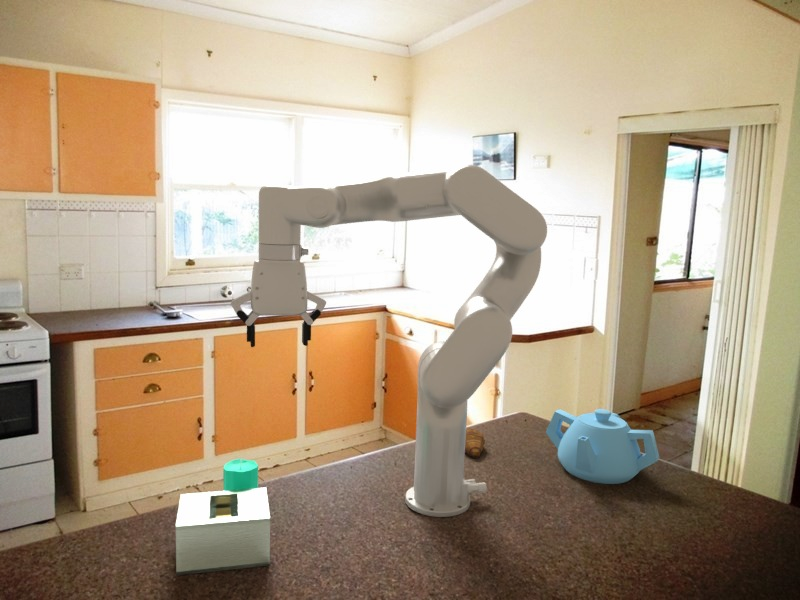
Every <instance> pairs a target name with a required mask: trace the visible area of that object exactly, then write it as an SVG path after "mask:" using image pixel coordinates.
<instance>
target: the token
mask: <svg viewBox="0 0 800 600" xmlns="http://www.w3.org/2000/svg"><path fill="white" fill-rule="evenodd" d="M225 517H231V507H228V508H218V509H216V518H225Z"/></svg>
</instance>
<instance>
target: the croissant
mask: <svg viewBox="0 0 800 600" xmlns="http://www.w3.org/2000/svg"><path fill="white" fill-rule="evenodd" d="M485 444H486V439H485V437H484V434H483V433H482V432H481V431H478V430H475V429H473V428H470V429H466V439H465V453H466V454H467V455H468V456H469V457H471V458H474V459H477V458H479V457H480V456H481V453H482V452H483V450H484V448H485V447H484V446H485Z"/></svg>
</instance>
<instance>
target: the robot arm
mask: <svg viewBox="0 0 800 600" xmlns="http://www.w3.org/2000/svg"><path fill="white" fill-rule="evenodd" d="M452 216H453V217H454V216H455V217H456V216H462V217H463V218H464V219H465V220H466V221H468V222H469V223H470V224H472V225H473V226H474V227H476V229H478V230H479V231H481V232H482V233H483V234H485V235H486V236H488V237H489V238H490V239H491V240H493V242H494V243H495V246H496V247H495V248H496V252H495V258H494V261H493V263H492V265H491V267H490V268H489V270H488V272H486V274H485V276H484V277H483V278H482V280H481V281H480V283H479V284H478V285H477V287H475V289H474V290H473V292H472V293H471V294H470V295H469V297H468V298H467V299H466V300H465V302H464V303H463V304H462V305H461V306H460V307H459V308H458V310H457V312H456V314H455V316H454V320H453V322H454V323H453V326H454V329H453V331H452V332H451V333H450V335H449V336H448V338H447V339H446V341H445V340H444V341H437V342H434V343H432V344H430V345H429V346H427V347H426V348H425V349H424V350H423V352H422V353H421V355H420V357H419V361H418V365H417V405H416V425H415V427H416V428H415V445H414V446H415V450H414V451H415V452H414V471H413V473H414V475H413V486H411V487H410V488H409V489H408V490H407V491H406V492H405V497H404V498H405V503H406V505H407V507H408V508H409V509H411V510H412V511H414V512H416V513H418V514H420V515H424V516H427V517H434V518H447V517H448V518H449V517H455V516H458V515H461V514H463V513H465V512H466V511H467V510H468V509H469V508H470V507H471V498H470V496H472V494H483V493H487V491H488V487H487V483H486V482H485V481H483V482H476V479H475V478H468V479H465V477H464V476H465V475H464V474H465V473H464V471H465V457H466V456H465V453H466V452H465V439H466V430H467V422H468V400H469V399H470V398H471V397H472V396H473V395H474V394H475V392H476V391H477V390H478V389H479V387H481V385H482V383H483V382H484V381H485V380H486V378H487V377H489V375H490V373H491V372H492V370H493V369H494V368H495V367H496V366H497V365H498V363H499V361H500V360H501V359H502V357H503V356H504V355H505V354H506V352H507V350H508V348H509V346H510V344H511V341H512V338H513V325H512V323H511V320H512V319H513V317H514V316H515V314H516V313H517V312H518V310H519V309H520V308H521V306H522V304H523V303H524V302H525V300H526V298H527V297H528V296H529V294H530V293H531V291H532V290H533V288H534V287H535V285H536V282H537V279H538V278H539V274H540V271H541V265H542V246H543V244H544V243H545V242H546V239H547V236H548V235H547V234H548V225H547V222H546V219H545V217H544V216H543V215H542V213H541V212H540V211H539V210H538V209H537V208H536V207H535V206H533V205H532V204H531V203H529V202H528V201H526V200H525V199H524V198H522V197H521V196H520V195H518V193H516V192H515V191H514V190H512V189H510V188H509V187H508V186H507V185H505V184H504V183H503V182H501V181H500V180H498V179H497V178H496V177H495V176H494V175H492V174H491V173H490V172H488V171H487V170H485V169H484V168H483V167H481V166H478V165H476V164H475V165H474V164H465V165H461V166H459V167H450V168H442V169H436V170H435V169H434V170H432V169H431V170H424V171H412V172H405V173H402V172H401V173H397V174H396V173H395V174H391V175H387V176H384V177H382V178H379V179H375V180H369V181H363V182H356V183H347V184H336V185H324V184H323V185H322V184H321V185H320V184H319V185H310V186H309V185H308V186H294V185H285V184H283V185H282V184H281V185H280V184H266V185H263V186H261V187H260V188H259V191H258V259H255V260H254V261H253V266H252V272H251V273H252V274H251V285H250V286H251V287H250V291H248V292H246V293H244V294H241V295H240V296H238V297H236V298H234V299H233V300H231V301H230V304H231V306H232V308H233V310H234V312H235V314H236V316H237V318H239V319H240V320H241V321H242V322H243V323H244V324H245V325H246V342H247V343H250V348H254V347H256V326H255V321H256V320H257V319H258V318H259V316H267V317H268V316H270V317H271V316H272V317H273V316H277V317H278V316H300V317H301V318H302V319H303V322H302V323H301V324H302V325H301V343H302V345H303V346H306V347H308V345H309V343H308V341H312V325H313V323H315V321H316V320H317V319H318V318H319V317H320V316H321V314H322V312H323V310H324V309H325V306H326V304H327V301H326V300H325V299H324V298H321V297H320V296H318V295H316V294H314V293H312V292H310V291H308V283H307V274H306V268H305V267H306V266H305V262H304V260H302V259H301V258H302V257H303V256H308V255H309V247H305V246H303V245H302V244H301V233H302V232H301V227H302V226H305V227H311V228H317V229H324V228H329V227H331V226H337V225H344V224H345V225H346V224H352V223H365V222H375V221H376V222H377V221H379V222H390V223H391V222H392V223H397V222H398V223H399V222H408V221H417V220H427V219H428V220H429V219H436V218H445V217H452ZM308 300H309V301H311V302H313V303H315V304H316V306H315V308H314V309H313V310H312V311H311V312H310V313H308V312H307V311H308ZM249 301H250V307H251V312H250V313H248V314H247V313H246V312H245V311H244V310H243V308H242V307H241V305H242V304H244V303H246V302H249Z"/></svg>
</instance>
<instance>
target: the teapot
mask: <svg viewBox="0 0 800 600" xmlns="http://www.w3.org/2000/svg"><path fill="white" fill-rule="evenodd" d="M563 422H564V423H566V424H567V425H569V426H568V427H567V429H566V430H565V431H564V433H563V432H562V430H561V429H562V428H561V427H562V425H563ZM545 434H546V435H547V437H548V438H549V439H550V440H551V442H552V443H553V445H554V446H555V447H556V449H557V458H558V461H559V462H560V464H561V465H562V467H563V468H564V469H565V470H566V471H567V472H568V473H569V474H570V475H572V476H573V477H576V478H578V479H580V480H584V481H587V482H591V483H597V484H604V485H618V484H623V483H624V484H625V483H627V482H629V481H631V480H632V479H633V478H634V477H636V476H637V474H639V472H640V471H642V470H644V469H646V468H647V467H650V466H651V465H653V464H655V463H656V462H658V461H659V459H660V454H659V449H658V446H657V441H656V437H655V434H654V430H653V429H652V430H650V429H647V430H646V429H632V428H631V427H630V426H629V424H628V422H627V421H626V420H624V419H623V418H621V416H620V415H619V414H617V413H614V412H612V411H611V410H608V409H605V408H597V409H594V412H587V413H582V414H580V415H578V416H576V415H573V414H571V413H569V412H568V411H565V410H562V409H560V408H559V409H557V410H555V411H554V412H553V414H552V417H551V419H550V422H549V424H548V425H547V428H546V431H545ZM637 440H643V447H644V452H645V453H643V454H641V449H640V445H639V442H638V441H637Z"/></svg>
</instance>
